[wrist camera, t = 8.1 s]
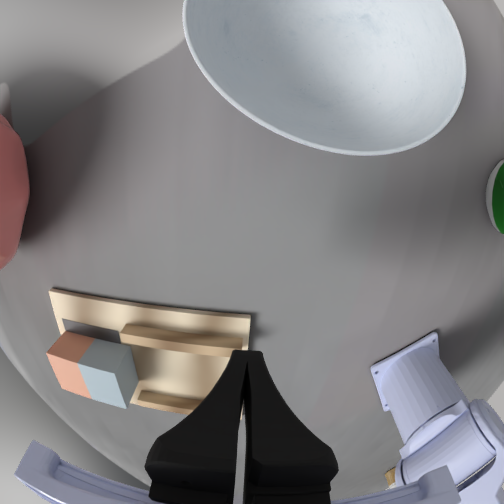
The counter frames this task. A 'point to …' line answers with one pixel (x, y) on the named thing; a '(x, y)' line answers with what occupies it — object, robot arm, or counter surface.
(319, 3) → the chinaware
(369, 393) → the counter surface
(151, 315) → the maple chute
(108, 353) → the grey-blue block
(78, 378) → the terracotta block
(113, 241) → the counter surface
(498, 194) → the soda can
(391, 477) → the sprinkles bottle
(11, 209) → the cell model
